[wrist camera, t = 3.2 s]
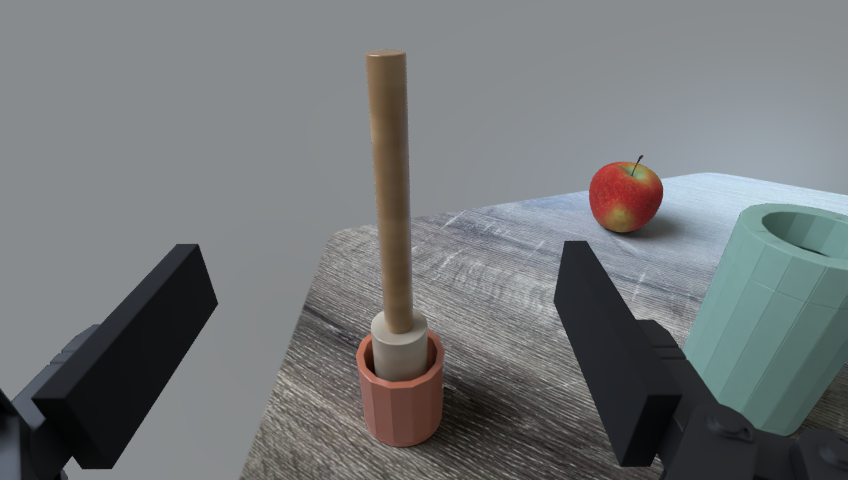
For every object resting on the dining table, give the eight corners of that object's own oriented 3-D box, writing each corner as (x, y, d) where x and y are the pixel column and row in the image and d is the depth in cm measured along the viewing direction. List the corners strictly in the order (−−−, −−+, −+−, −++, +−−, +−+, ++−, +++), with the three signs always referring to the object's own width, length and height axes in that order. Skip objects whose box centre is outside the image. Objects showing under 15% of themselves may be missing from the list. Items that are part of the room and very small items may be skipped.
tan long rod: (368, 411, 31) (326, 53, 18) (398, 379, 33) (380, 44, 21) (408, 437, 29) (392, 60, 17) (437, 401, 32) (441, 49, 19)
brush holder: (346, 420, 31) (337, 361, 28) (397, 367, 35) (393, 311, 32) (411, 464, 28) (409, 404, 25) (457, 401, 32) (460, 343, 29)
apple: (615, 209, 59) (633, 138, 54) (665, 236, 53) (690, 159, 48) (569, 220, 56) (583, 147, 51) (615, 250, 50) (637, 170, 45)
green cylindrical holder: (667, 402, 32) (736, 243, 25) (683, 336, 38) (743, 193, 31) (804, 461, 28) (936, 292, 21) (798, 378, 34) (899, 224, 27)
